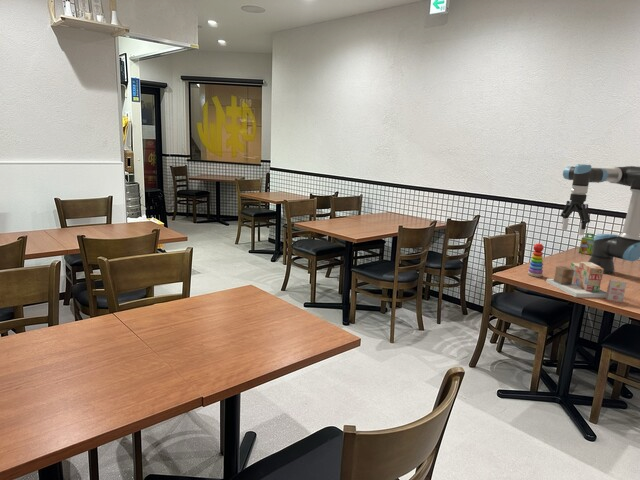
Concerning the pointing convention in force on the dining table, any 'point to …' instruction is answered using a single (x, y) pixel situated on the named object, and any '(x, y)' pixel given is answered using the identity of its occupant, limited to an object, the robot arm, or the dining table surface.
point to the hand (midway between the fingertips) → (572, 232)
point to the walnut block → (563, 275)
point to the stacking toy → (536, 261)
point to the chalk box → (587, 244)
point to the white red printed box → (615, 291)
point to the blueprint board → (576, 290)
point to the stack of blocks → (587, 275)
